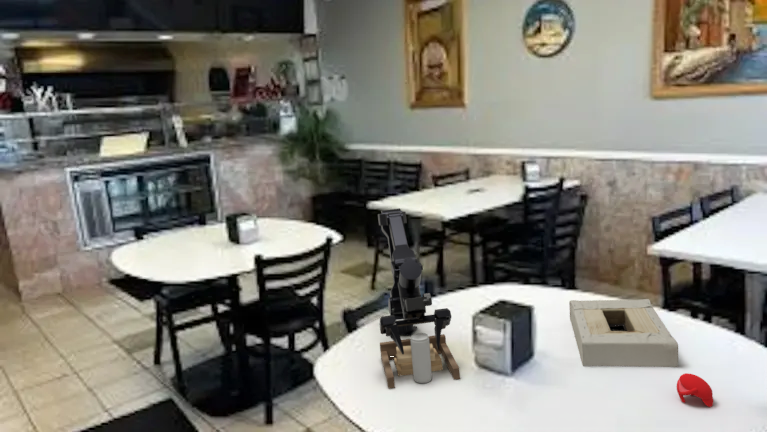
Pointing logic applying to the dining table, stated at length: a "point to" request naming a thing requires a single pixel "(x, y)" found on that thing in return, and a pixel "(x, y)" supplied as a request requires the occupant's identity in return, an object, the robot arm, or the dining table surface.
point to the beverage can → (421, 357)
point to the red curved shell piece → (694, 388)
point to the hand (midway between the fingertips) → (420, 351)
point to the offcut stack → (405, 361)
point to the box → (622, 334)
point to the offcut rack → (390, 346)
